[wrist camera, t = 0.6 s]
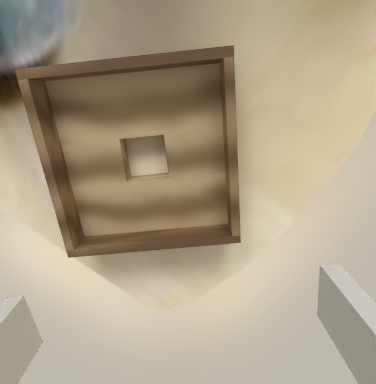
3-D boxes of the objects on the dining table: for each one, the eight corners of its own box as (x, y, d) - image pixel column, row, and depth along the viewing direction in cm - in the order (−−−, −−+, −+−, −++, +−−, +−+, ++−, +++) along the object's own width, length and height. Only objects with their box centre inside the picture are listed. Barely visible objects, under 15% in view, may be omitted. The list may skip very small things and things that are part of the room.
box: (45, 75, 32) (14, 69, 26) (225, 55, 31) (233, 45, 26) (85, 234, 39) (68, 257, 33) (232, 221, 38) (240, 242, 33)
